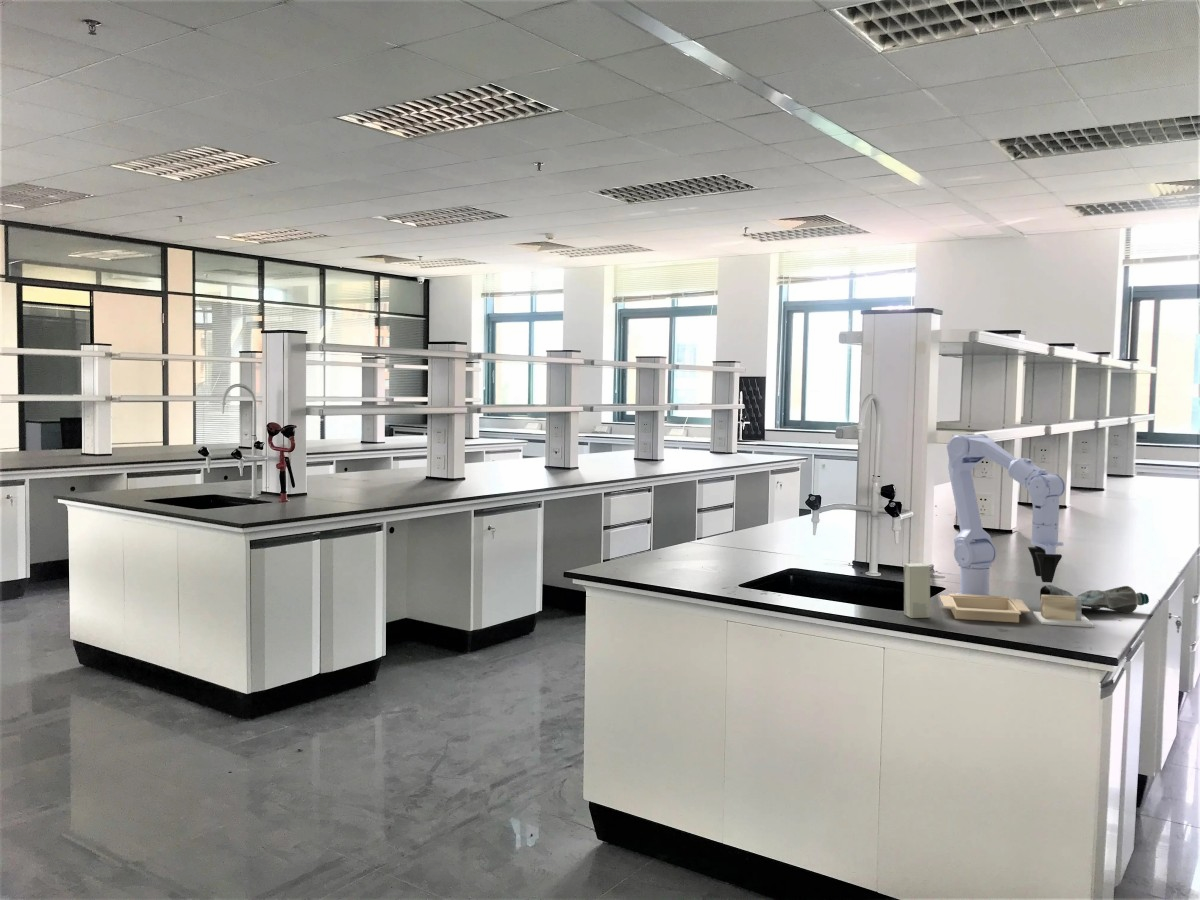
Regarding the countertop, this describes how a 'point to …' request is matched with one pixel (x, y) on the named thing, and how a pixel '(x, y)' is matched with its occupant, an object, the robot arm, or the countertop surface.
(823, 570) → the countertop surface
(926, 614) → the box
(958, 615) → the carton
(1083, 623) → the mat
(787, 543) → the countertop surface
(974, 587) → the robot arm
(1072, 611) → the block
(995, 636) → the countertop surface
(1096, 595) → the crushed plastic bottle
